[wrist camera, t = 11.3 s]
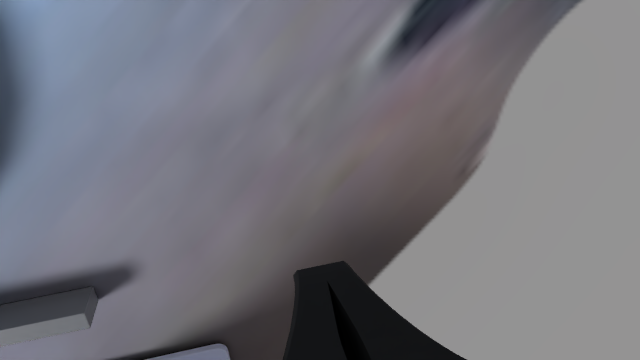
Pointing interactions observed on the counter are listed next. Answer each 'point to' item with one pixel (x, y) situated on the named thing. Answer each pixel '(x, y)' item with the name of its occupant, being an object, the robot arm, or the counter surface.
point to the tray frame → (47, 316)
